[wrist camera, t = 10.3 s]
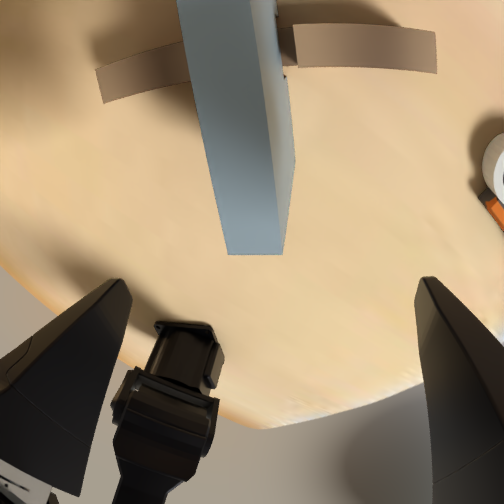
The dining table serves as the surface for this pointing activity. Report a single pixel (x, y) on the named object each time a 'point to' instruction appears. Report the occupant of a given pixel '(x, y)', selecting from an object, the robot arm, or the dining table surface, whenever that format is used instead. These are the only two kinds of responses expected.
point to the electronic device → (494, 179)
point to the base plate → (284, 55)
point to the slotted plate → (242, 117)
